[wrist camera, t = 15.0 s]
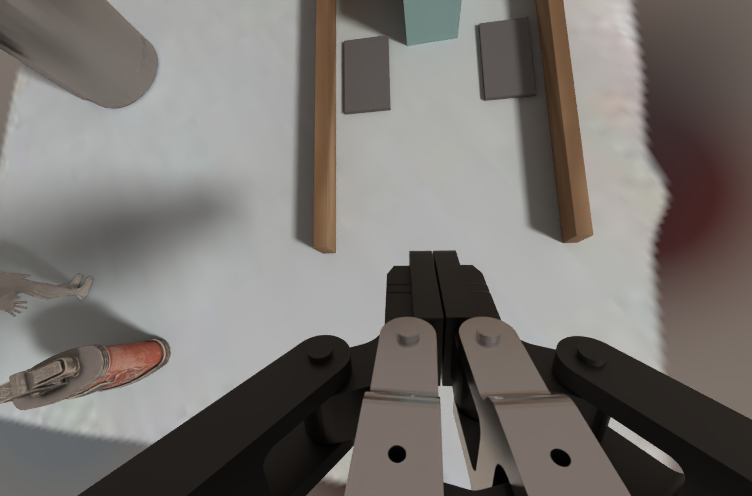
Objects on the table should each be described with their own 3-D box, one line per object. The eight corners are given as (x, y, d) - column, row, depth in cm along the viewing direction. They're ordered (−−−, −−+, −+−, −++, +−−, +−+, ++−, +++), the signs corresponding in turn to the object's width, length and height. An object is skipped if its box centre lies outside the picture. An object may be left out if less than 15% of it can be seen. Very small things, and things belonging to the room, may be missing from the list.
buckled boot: (101, 397, 35) (-26, 430, 25) (94, 363, 36) (-33, 382, 26) (175, 364, 34) (73, 385, 25) (165, 330, 35) (63, 338, 25)
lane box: (323, 253, 34) (301, 241, 28) (325, -15, 39) (306, -72, 33) (577, 242, 31) (612, 226, 25) (542, -48, 36) (564, -117, 30)
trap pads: (345, 114, 36) (344, 112, 36) (345, 43, 38) (344, 40, 37) (534, 95, 34) (536, 93, 33) (526, 20, 35) (527, 17, 35)
